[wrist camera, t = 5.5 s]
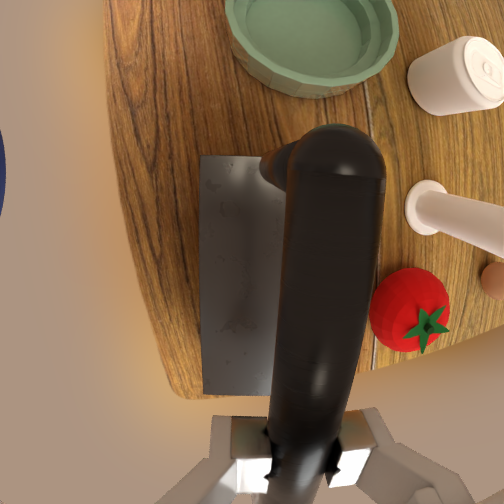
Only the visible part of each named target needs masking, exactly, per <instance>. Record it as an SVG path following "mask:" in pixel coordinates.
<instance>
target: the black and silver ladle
mask: <svg viewBox="0 0 504 504" xmlns="http://www.w3.org/2000/svg"><path fill="white" fill-rule="evenodd" d="M259 171H260V174H261V176H262V177H263V179H264V180H265V181H267V182H268V183H270V184H272V185H274V186H275V187H277V188H279V189H280V190H282V191H284V192H285V193H286V205H285V222H284V238H283V253H282V267H281V281H280V294H279V307H278V319H277V331H276V343H275V354H274V365H273V375H272V386H271V396H270V406H269V416H268V424H267V434H266V436H267V437H269V439H270V444H271V453H272V462H271V469H270V473H269V474H268V480H269V482H268V488H267V493H258V494H251V497H252V504H312V503H313V501H314V498H315V496H316V493H317V491H318V488H319V485H320V483H321V480H322V478H323V475H324V472H325V470H326V467H327V464H328V461H329V458H330V456H331V453H332V450H333V447H334V444H335V441H336V438H337V434H338V431H339V428H340V425H341V422H342V418H343V415H344V412H345V408H346V405H347V401H348V398H349V394H350V390H351V386H352V383H353V379H354V375H355V371H356V367H357V363H358V359H359V355H360V350H361V346H362V341H363V337H364V332H365V328H366V323H367V318H368V313H369V307H370V302H371V297H372V291H373V285H374V279H375V273H376V266H377V260H378V253H379V245H380V238H381V229H382V221H383V211H384V201H385V190H386V166H385V162H384V158H383V156H382V154H381V151H380V149H379V148H378V147H377V145H376V144H375V142H374V141H373V140H372V139H371V138H370V137H369V136H368V135H367V134H365V133H364V132H362V131H360V130H359V129H357V128H354V127H351V126H349V125H345V124H327V125H322V126H319V127H317V128H314V129H312V130H311V131H309V132H308V133H306V134H305V135H304V136H303V137H302V138H301V139H300V140H297V141H295V142H292V143H289V144H287V145H284V146H282V147H279V148H277V149H274V150H272V151H269V152H267V153H266V154H265V155H264V156H263V157H262V158H261V160H260V163H259Z"/></svg>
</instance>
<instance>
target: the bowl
mask: <svg viewBox="0 0 504 504" xmlns="http://www.w3.org/2000/svg"><path fill="white" fill-rule="evenodd" d="M225 18H226V29H227V36H228V39H229V42H230V45H231V48H232V51H233V54H234V55H235V57H236V58H237V59H238V61H239V62H240V63H241V64H242V66H243V67H244V68H245V70H246V71H247V72H248V73H249V74H250V75H252V76H253V77H254V78H256V79H257V80H259V81H260V82H261V83H263V84H264V85H266V86H267V87H269V88H271V89H274V90H277V91H280V92H282V93H285V94H287V95H290V96H293V97H303V98H313V99H319V98H325V97H330V96H336V95H340V94H342V93H344V92H346V91H348V90H350V89H352V88H353V87H355V86H357V85H359V84H361V83H362V82H364V81H365V80H367V79H369V78H370V77H372V76H374V75H375V74H377V73H379V72H380V71H381V70H382V69H383V68H384V66H385V65H386V64H387V63H388V62H389V60H390V59H391V58H392V57H393V55H394V52H395V49H396V46H397V42H398V39H399V26H398V16H397V13H396V10H395V8H394V6H393V4H392V2H391V0H226V2H225Z"/></svg>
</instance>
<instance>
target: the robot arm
mask: <svg viewBox="0 0 504 504" xmlns="http://www.w3.org/2000/svg"><path fill="white" fill-rule="evenodd" d="M267 424H268V420H267V417H251V416H217V415H213V417H212V424H211V438H210V451H209V458H203V459H202V460H201V461H200V462H199V463H198V464H197V465H196V466H195V467H194V468H193V469H192V470H191V471H190V472H189V473H188V474H187V475H186V476H185V477H184V478H182V479H181V480H180V481H179V482H178V483H177V484H176V485H175V486H174V487H173V488H172V489H171V490H170V491H168V492H167V493H166V494H165V495H164V496H163V497H162V498H161V499H159V500H158V501H157V502H156V503H155V504H231V502H232V501H233V500H234V498H235V497H236V494H258V493H267V488H268V482H269V480H268V474H269V473H270V469H271V462H272V453H271V444H270V439H269V437H267V436H266V434H267ZM324 473H325V476H326V480H327V484H328V487H329V488H331V487H338V486H346V485H353V484H356V486H357V487H359V488H360V489H361V490H362V491H363V492H364V493H366V494H367V495H368V496H369V497H370V498H371V499H373V500H374V501H375V502H376V503H377V504H504V489H502V490H501V491H499V492H497V493H495V494H493V495H492V496H490V497H488V498H486V499H484V500H483V501H480V502H479V503H475V501H474V500H473V498H472V496H471V494H470V493H469V491H468V489H467V488H466V486H465V484H464V483H463V481H462V479H461V478H460V476H459V474H457V473H455V472H453V471H451V470H449V469H447V468H445V467H443V466H441V465H439V464H437V463H436V462H433V461H432V460H430V459H428V458H426V457H425V456H423V455H421V454H419V453H417V452H416V451H414V450H412V449H410V448H408V447H407V446H405V445H403V444H401V443H395V441H394V440H393V438H392V436H391V434H390V432H389V430H388V428H387V426H386V425H385V423H384V421H383V419H382V417H381V415H380V413H379V411H378V410H377V409H376V408H375V407H373V408H367V409H360V410H352V411H345V412H344V415H343V418H342V422H341V425H340V428H339V431H338V434H337V438H336V441H335V444H334V447H333V450H332V453H331V456H330V458H329V461H328V464H327V467H326V470H325V472H324ZM0 504H6V503H4V502H2V501H0Z"/></svg>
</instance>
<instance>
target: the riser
mask: <svg viewBox="0 0 504 504" xmlns="http://www.w3.org/2000/svg"><path fill="white" fill-rule="evenodd" d="M261 158H262V157H261V156H233V155H200V179H199V300H200V334H201V358H202V378H203V394H206V395H234V396H271V386H272V375H273V365H274V354H275V343H276V331H277V319H278V307H279V294H280V281H281V267H282V253H283V238H284V222H285V205H286V193H285V192H284V191H282V190H280V189H279V188H277V187H275V186H274V185H272V184H270V183H268V182H267V181H265V180H264V179H263V177H262V176H261V174H260V171H259V163H260V160H261Z"/></svg>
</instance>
